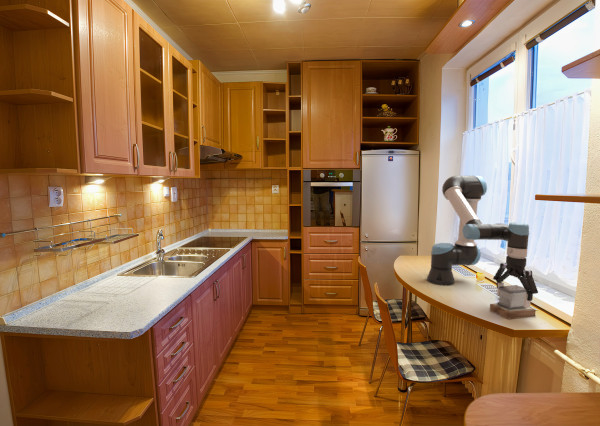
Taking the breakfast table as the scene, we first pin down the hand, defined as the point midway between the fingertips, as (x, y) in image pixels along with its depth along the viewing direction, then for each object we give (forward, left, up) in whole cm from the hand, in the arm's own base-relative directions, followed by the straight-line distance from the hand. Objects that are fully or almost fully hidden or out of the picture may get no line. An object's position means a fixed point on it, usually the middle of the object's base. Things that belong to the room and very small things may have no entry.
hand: (512, 301), depth 139 cm
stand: (0, 0, -6) cm, 6 cm away
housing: (0, 0, -2) cm, 3 cm away
